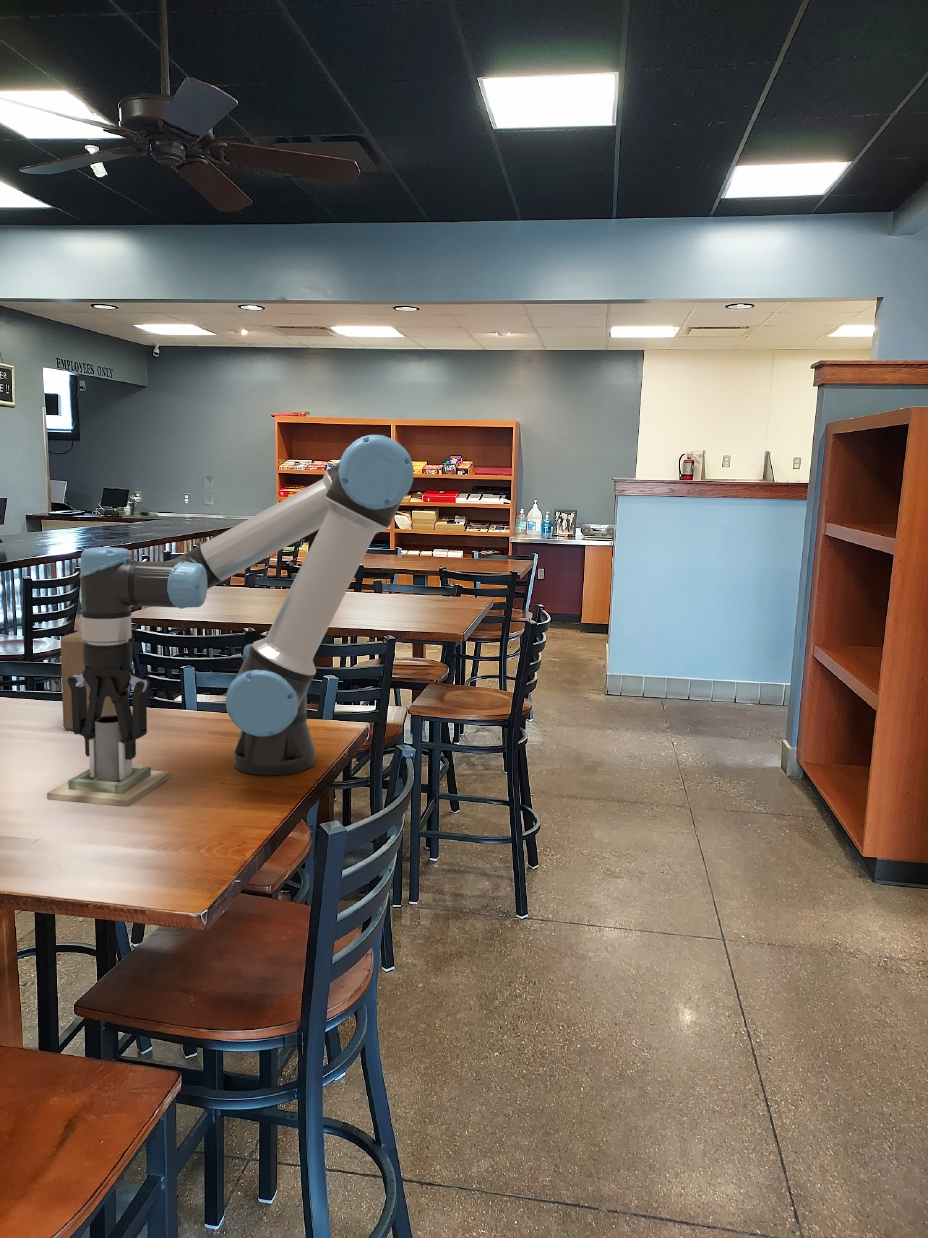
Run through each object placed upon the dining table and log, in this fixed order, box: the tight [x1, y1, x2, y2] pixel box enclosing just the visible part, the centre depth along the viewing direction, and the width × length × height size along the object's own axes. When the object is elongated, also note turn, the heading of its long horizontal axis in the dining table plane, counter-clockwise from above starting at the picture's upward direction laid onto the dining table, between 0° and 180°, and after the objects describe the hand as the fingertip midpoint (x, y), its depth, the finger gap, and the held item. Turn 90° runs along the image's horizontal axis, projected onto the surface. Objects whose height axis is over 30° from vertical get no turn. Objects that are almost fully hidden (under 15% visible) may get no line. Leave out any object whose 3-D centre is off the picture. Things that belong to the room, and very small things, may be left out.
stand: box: [46, 764, 171, 807], centre depth 138 cm, size 14×14×2 cm
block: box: [60, 629, 120, 731], centre depth 172 cm, size 10×10×20 cm
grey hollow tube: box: [95, 715, 123, 782], centre depth 137 cm, size 4×4×10 cm
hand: (111, 775), depth 138 cm, fingers closed on grey hollow tube, 4 cm apart
